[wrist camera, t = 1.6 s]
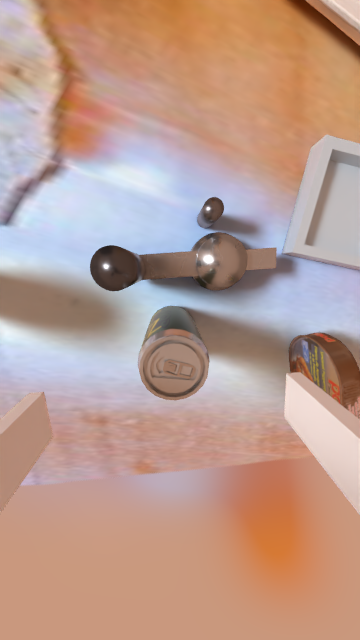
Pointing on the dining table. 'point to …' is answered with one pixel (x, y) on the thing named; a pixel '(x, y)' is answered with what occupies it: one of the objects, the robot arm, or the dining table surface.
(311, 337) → the tin
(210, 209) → the base
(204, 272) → the crank
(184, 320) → the beer can
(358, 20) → the square plate
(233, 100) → the dining table surface
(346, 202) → the tray
